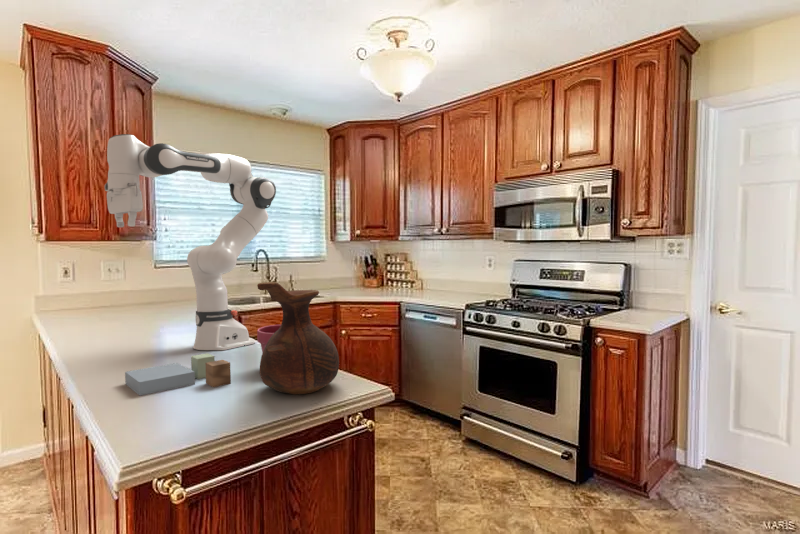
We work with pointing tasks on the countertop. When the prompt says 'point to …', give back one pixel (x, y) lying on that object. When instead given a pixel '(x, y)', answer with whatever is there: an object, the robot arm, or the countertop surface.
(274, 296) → the jug
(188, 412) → the countertop surface
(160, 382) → the slate base block
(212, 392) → the countertop surface
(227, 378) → the walnut block
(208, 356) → the sage block
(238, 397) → the countertop surface
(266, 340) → the plant pot
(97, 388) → the countertop surface
